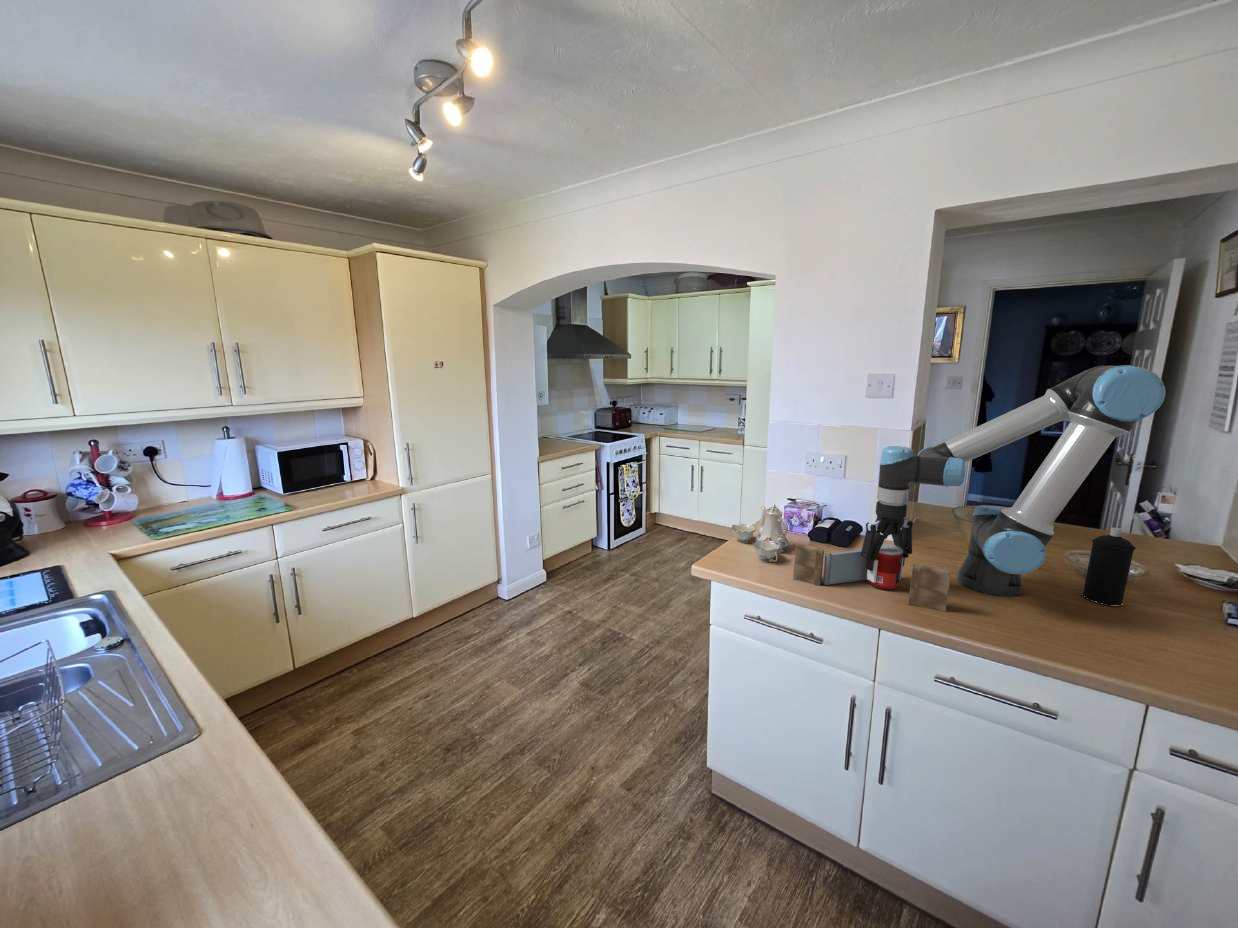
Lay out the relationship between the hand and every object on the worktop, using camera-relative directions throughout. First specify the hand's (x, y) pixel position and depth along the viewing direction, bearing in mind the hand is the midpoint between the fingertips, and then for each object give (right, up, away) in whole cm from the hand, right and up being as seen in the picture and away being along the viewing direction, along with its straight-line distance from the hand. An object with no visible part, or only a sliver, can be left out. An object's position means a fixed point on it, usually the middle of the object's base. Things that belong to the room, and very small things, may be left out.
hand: (883, 578), depth 142 cm
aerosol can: (+54, -4, -9) cm, 55 cm away
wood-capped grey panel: (-8, -3, -4) cm, 9 cm away
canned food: (0, -2, 0) cm, 2 cm away
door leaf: (-7, -1, +3) cm, 8 cm away
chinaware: (-26, +3, +29) cm, 39 cm away
